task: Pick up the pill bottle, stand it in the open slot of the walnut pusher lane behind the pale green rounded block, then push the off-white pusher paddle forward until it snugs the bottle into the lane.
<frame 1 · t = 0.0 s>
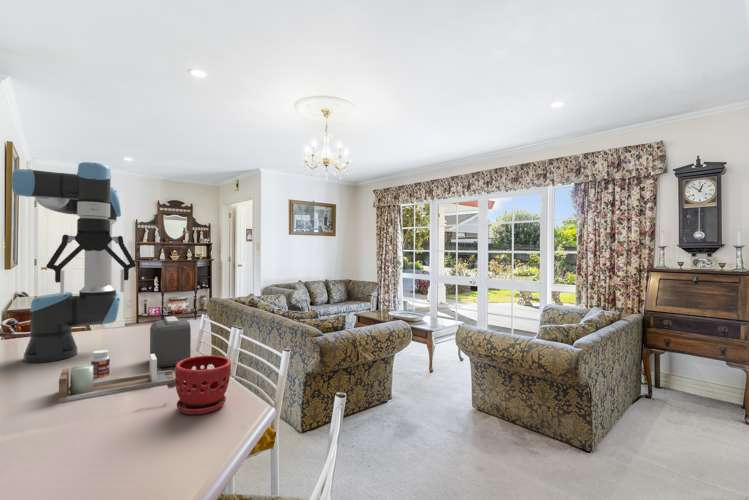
hand: (93, 293, 108), 28 cm above the table, fingers open, 13 cm apart
pill bottle: (100, 378, 119), on the table
paddle: (158, 367, 115), point 5 cm above the table, slide at 0.0 cm
pale green rounded block: (81, 392, 104), point 1 cm above the table, touching lane
plant pot: (203, 408, 98), on the table
alarm clock: (169, 362, 136), on the table
lane: (121, 389, 110), on the table
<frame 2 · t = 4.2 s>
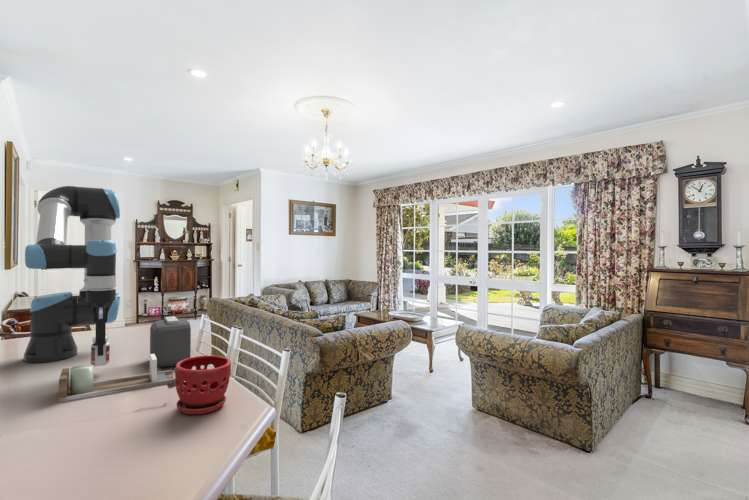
hand: (100, 362, 119), 5 cm above the table, fingers closed on pill bottle, 5 cm apart
pill bottle: (100, 364, 119), point 4 cm above the table, touching gripper
everything else where it was.
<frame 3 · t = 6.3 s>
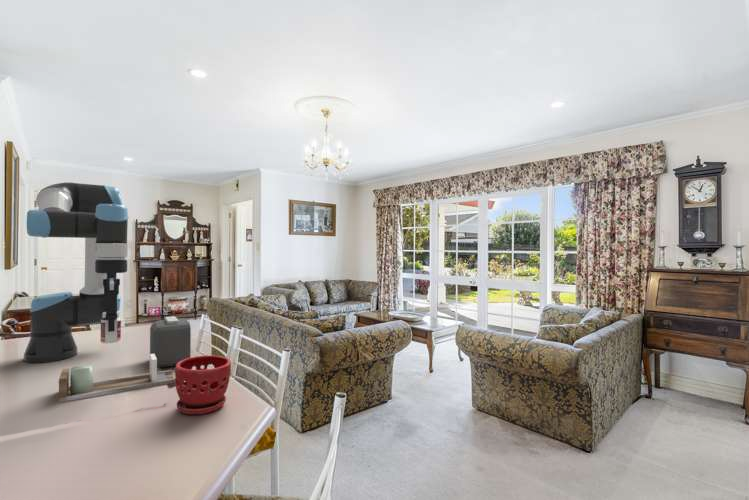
hand: (110, 340, 108), 15 cm above the table, fingers closed on pill bottle, 5 cm apart
pill bottle: (110, 342, 108), point 14 cm above the table, touching gripper
everything else where it was.
when the fingers open (2 cm above the table, at t = 8.8 s): pill bottle stays where it is, resting on lane.
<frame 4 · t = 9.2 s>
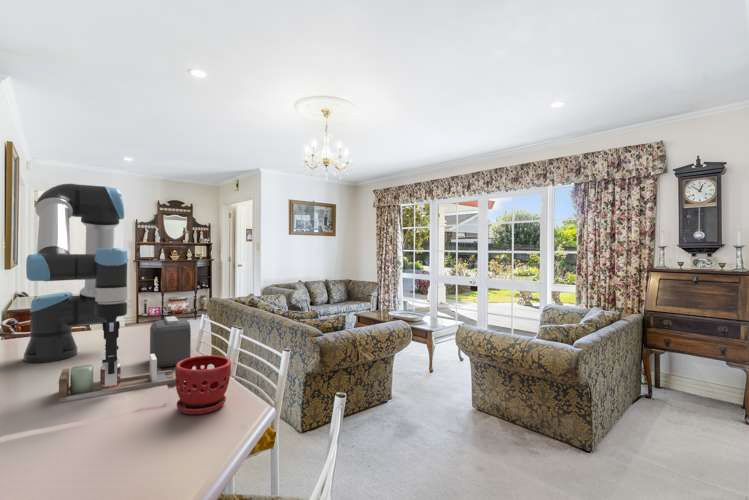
hand: (110, 378, 108), 4 cm above the table, fingers open, 11 cm apart
pill bottle: (110, 388, 108), point 1 cm above the table, touching lane
everything else where it was.
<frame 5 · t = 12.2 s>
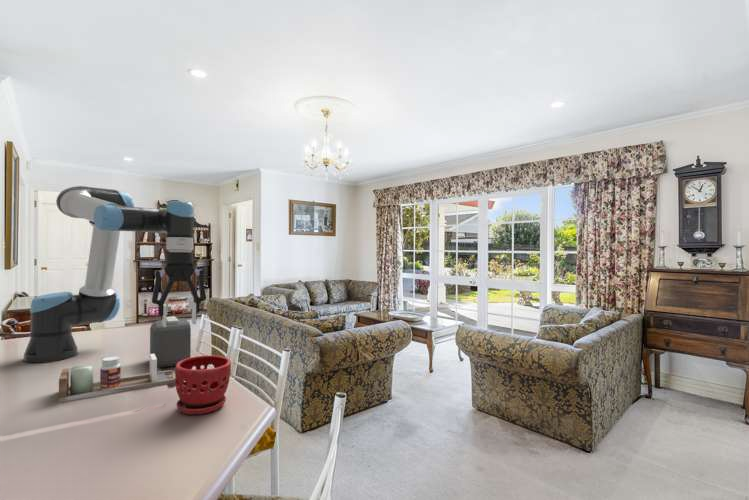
hand: (179, 324, 118), 17 cm above the table, fingers open, 8 cm apart
nothing on the table moved.
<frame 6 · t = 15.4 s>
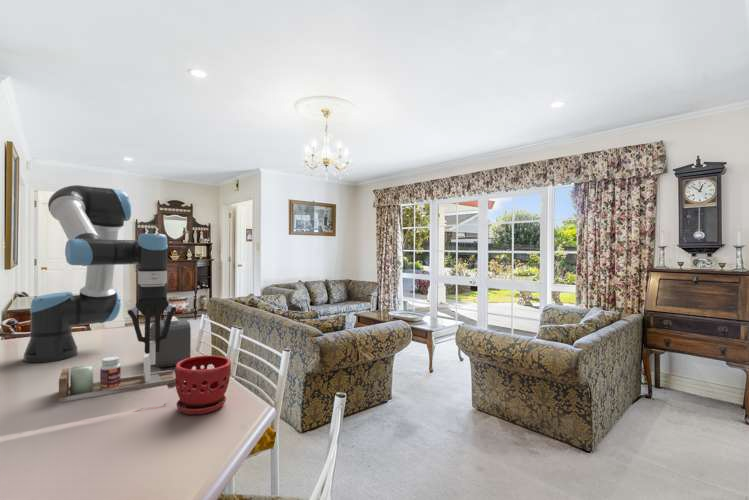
hand: (152, 363, 114), 6 cm above the table, fingers closed
paddle: (152, 368, 114), point 5 cm above the table, slide at 1.6 cm, touching gripper
everything else where it was.
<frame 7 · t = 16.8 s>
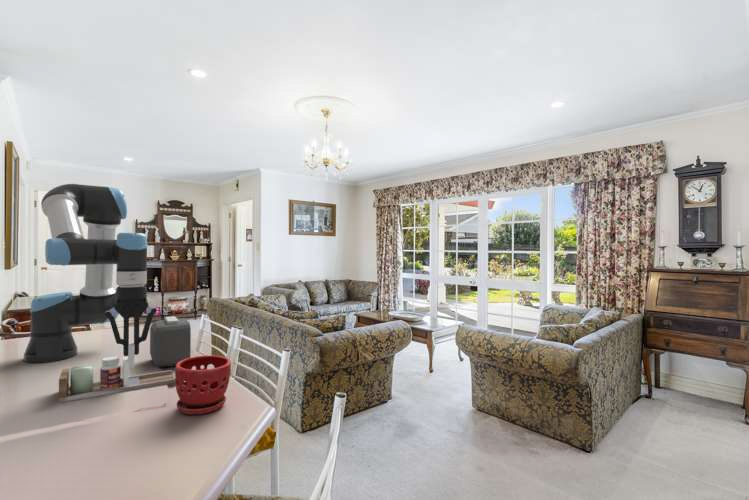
hand: (131, 366, 111), 6 cm above the table, fingers closed
paddle: (131, 371, 111), point 5 cm above the table, slide at 6.9 cm, touching gripper
everything else where it was.
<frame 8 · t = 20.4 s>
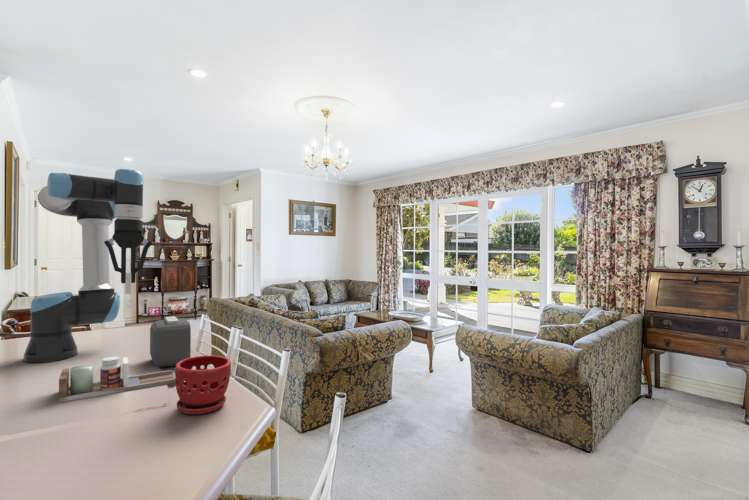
hand: (128, 293, 120), 26 cm above the table, fingers closed
paddle: (131, 371, 111), point 5 cm above the table, slide at 7.0 cm
everything else where it was.
at the end: pill bottle 0.3 cm from the target spot, point 0.8 cm above the table; pill bottle tilted 0°; paddle slide at 7.0 cm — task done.
